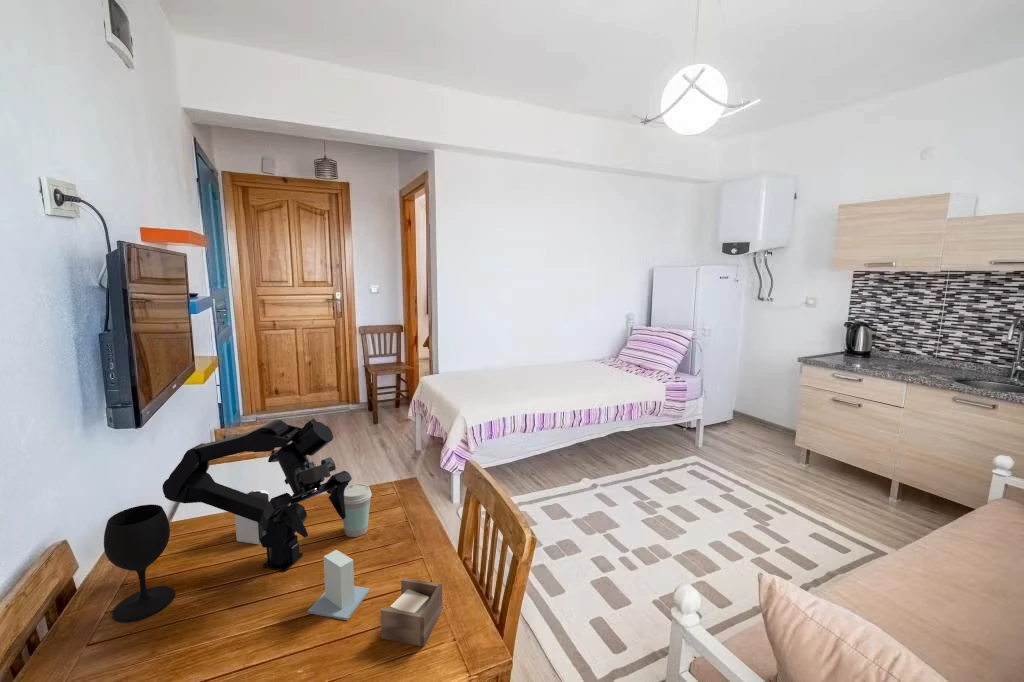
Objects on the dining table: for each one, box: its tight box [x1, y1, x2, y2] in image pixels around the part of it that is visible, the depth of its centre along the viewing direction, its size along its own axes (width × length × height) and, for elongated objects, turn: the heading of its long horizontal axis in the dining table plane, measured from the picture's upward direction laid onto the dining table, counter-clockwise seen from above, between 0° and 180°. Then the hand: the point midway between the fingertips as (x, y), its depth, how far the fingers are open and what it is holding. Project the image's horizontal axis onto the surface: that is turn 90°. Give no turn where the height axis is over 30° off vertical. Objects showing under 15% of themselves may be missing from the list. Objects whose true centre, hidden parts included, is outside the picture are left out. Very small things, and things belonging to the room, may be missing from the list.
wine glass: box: [103, 504, 176, 624], centre depth 93 cm, size 10×10×20 cm
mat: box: [307, 585, 371, 621], centre depth 96 cm, size 9×9×1 cm
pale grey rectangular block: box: [323, 549, 355, 609], centre depth 95 cm, size 6×3×10 cm, turn 55°
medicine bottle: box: [234, 489, 270, 545], centre depth 119 cm, size 7×7×12 cm
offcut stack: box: [389, 589, 429, 614], centre depth 90 cm, size 6×6×4 cm
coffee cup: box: [342, 483, 373, 538], centre depth 122 cm, size 8×8×12 cm
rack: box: [380, 577, 443, 647], centre depth 90 cm, size 9×10×6 cm
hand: (326, 527), depth 100 cm, fingers open, 9 cm apart
